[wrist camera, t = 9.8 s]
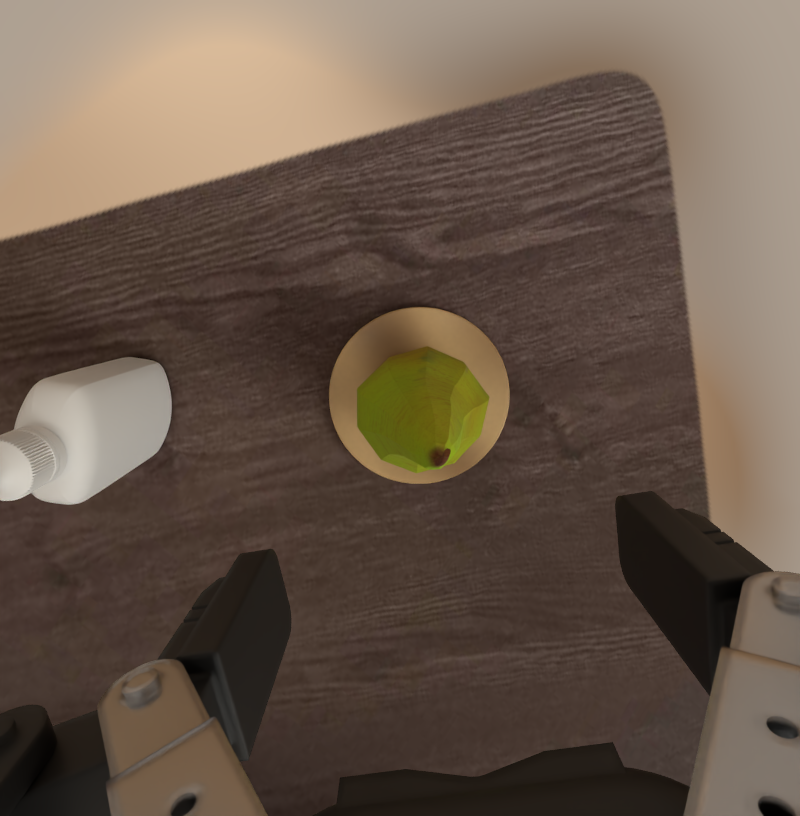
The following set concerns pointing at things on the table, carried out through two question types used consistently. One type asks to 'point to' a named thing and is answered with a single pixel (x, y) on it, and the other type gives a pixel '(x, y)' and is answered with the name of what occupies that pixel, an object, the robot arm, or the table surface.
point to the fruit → (421, 409)
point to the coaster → (405, 335)
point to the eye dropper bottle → (85, 430)
